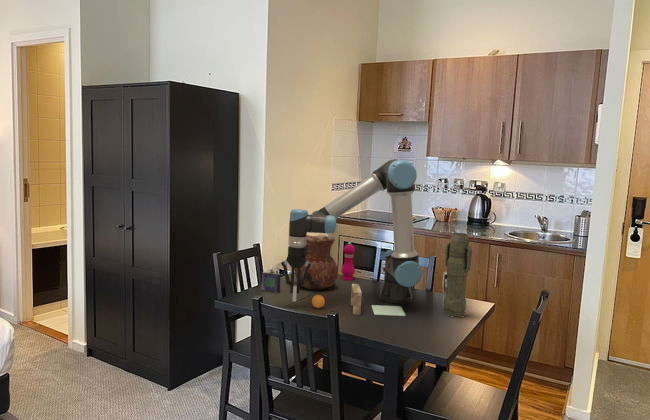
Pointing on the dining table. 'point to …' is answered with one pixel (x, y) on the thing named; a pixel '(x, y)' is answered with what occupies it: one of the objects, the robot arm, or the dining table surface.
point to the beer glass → (444, 286)
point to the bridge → (356, 299)
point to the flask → (271, 281)
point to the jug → (319, 263)
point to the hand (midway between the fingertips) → (294, 300)
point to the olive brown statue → (457, 274)
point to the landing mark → (388, 310)
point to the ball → (318, 301)
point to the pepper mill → (348, 263)
